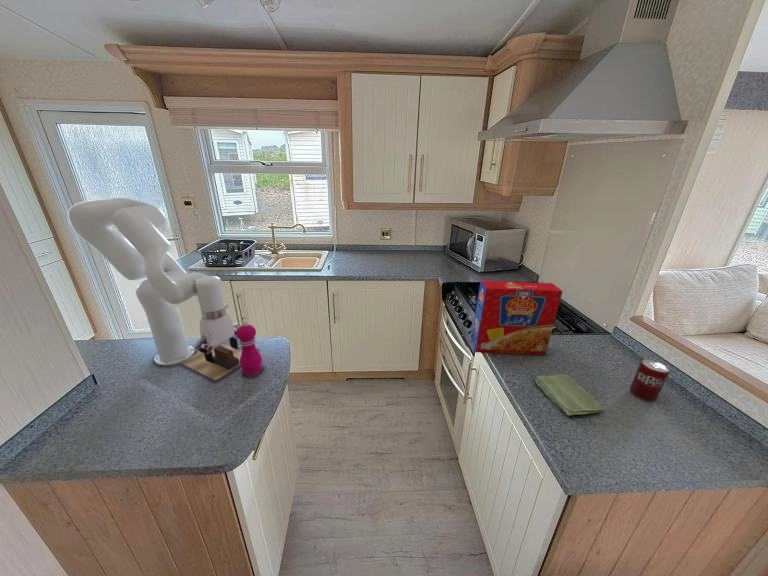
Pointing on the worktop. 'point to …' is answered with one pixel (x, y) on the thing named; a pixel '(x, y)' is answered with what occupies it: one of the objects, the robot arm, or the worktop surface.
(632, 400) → the worktop surface
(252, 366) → the pepper mill
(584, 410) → the washcloth
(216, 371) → the cutting board
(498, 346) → the pasta box
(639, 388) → the soda can
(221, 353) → the eraser
